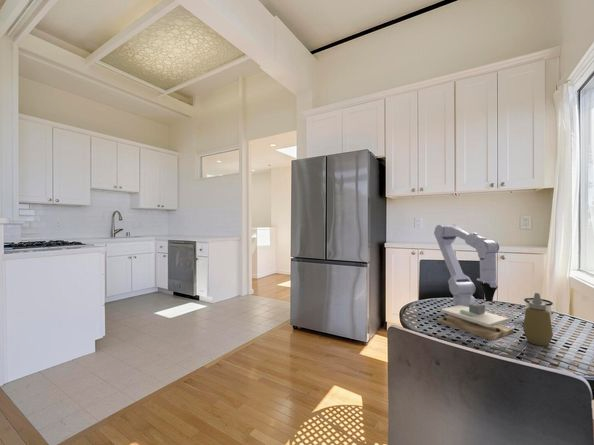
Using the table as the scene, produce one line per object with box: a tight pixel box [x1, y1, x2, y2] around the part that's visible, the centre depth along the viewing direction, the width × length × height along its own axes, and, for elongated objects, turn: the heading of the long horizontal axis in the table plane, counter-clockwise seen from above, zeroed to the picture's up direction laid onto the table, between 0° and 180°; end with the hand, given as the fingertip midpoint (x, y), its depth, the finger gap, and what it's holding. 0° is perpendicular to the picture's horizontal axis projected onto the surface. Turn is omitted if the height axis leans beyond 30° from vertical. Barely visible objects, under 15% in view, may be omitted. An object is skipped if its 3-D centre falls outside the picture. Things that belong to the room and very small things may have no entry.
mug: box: [523, 297, 554, 320], centre depth 120 cm, size 12×10×9 cm
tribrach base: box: [437, 314, 514, 341], centre depth 116 cm, size 15×22×4 cm
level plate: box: [440, 302, 510, 327], centre depth 116 cm, size 13×20×4 cm, turn 26°
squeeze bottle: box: [522, 292, 554, 347], centre depth 100 cm, size 8×8×18 cm
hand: (488, 301), depth 116 cm, fingers closed
